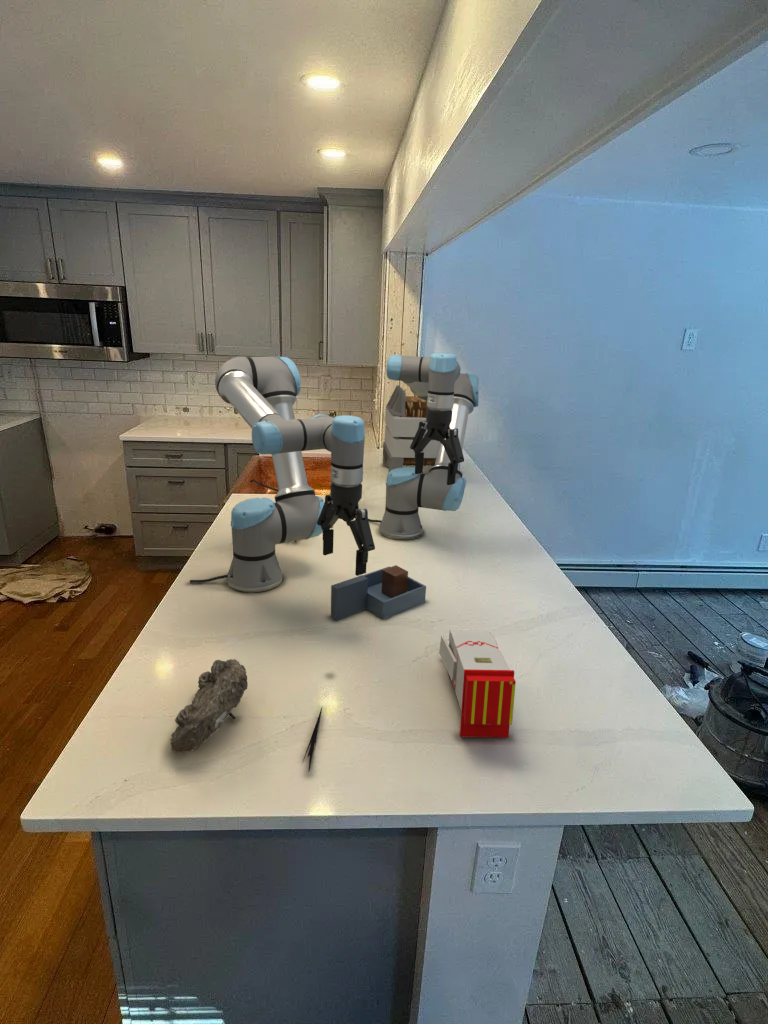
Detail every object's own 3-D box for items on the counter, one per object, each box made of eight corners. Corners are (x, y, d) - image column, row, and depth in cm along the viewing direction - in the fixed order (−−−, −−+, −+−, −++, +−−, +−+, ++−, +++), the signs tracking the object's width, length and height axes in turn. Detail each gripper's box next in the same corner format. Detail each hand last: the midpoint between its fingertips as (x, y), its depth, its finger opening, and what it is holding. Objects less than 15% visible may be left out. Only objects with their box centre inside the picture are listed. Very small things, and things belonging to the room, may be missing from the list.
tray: (316, 606, 149) (316, 576, 146) (388, 581, 165) (389, 552, 162) (351, 631, 139) (352, 599, 135) (425, 601, 154) (427, 572, 151)
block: (381, 592, 157) (382, 569, 154) (394, 587, 160) (396, 565, 157) (393, 599, 153) (394, 576, 151) (406, 594, 156) (408, 571, 154)
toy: (489, 613, 130) (525, 677, 101) (485, 667, 133) (518, 744, 104) (437, 612, 130) (457, 676, 101) (434, 666, 133) (453, 743, 103)
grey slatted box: (381, 463, 289) (385, 382, 275) (444, 464, 292) (450, 384, 279) (389, 482, 257) (393, 392, 243) (459, 483, 261) (467, 394, 247)
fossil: (195, 660, 117) (247, 628, 112) (227, 691, 120) (279, 661, 115) (146, 746, 98) (206, 711, 93) (185, 779, 101) (245, 748, 96)
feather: (331, 679, 122) (336, 673, 122) (307, 777, 96) (313, 769, 95) (324, 675, 122) (329, 669, 121) (298, 772, 95) (304, 764, 95)
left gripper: (303, 471, 140) (303, 549, 148) (367, 501, 123) (363, 587, 130) (328, 467, 145) (327, 542, 152) (393, 494, 127) (387, 578, 135)
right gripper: (401, 403, 171) (397, 470, 178) (463, 416, 153) (456, 491, 161) (419, 401, 176) (414, 467, 183) (481, 414, 158) (473, 487, 165)
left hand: (343, 563), depth 141 cm, fingers open, 13 cm apart
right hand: (434, 478), depth 172 cm, fingers open, 13 cm apart
